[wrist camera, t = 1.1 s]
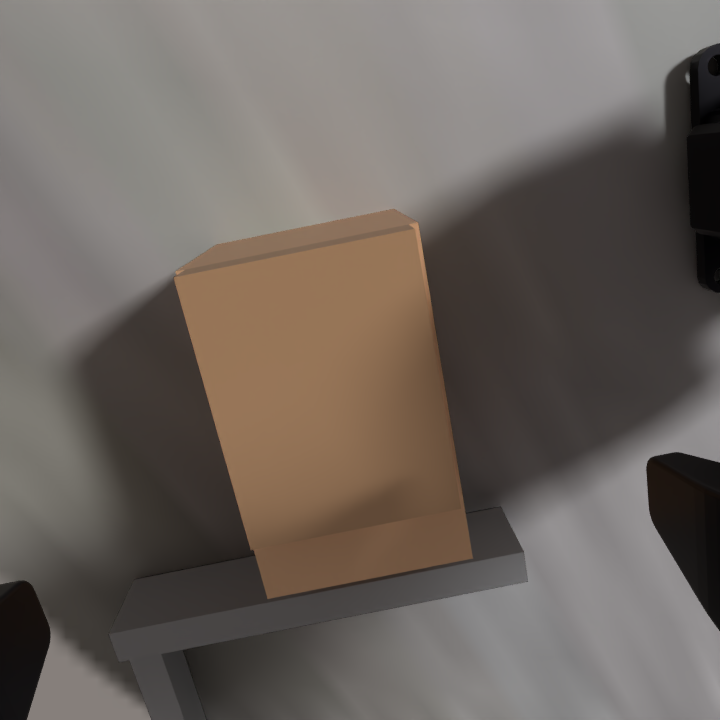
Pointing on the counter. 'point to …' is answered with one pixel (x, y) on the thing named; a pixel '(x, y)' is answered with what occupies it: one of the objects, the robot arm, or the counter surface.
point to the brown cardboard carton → (329, 400)
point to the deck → (279, 608)
